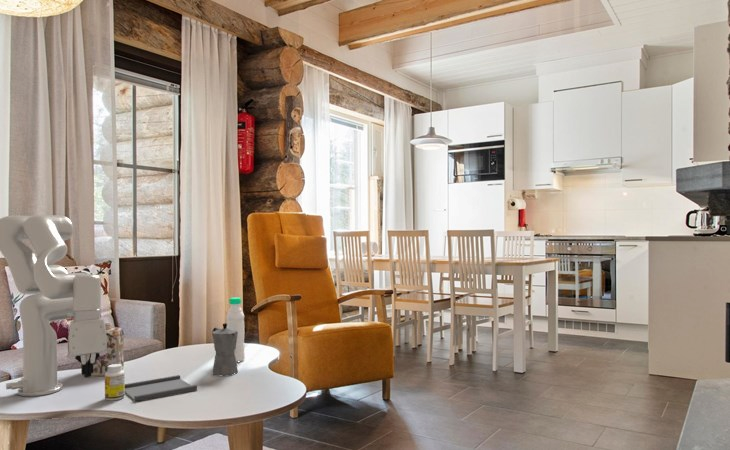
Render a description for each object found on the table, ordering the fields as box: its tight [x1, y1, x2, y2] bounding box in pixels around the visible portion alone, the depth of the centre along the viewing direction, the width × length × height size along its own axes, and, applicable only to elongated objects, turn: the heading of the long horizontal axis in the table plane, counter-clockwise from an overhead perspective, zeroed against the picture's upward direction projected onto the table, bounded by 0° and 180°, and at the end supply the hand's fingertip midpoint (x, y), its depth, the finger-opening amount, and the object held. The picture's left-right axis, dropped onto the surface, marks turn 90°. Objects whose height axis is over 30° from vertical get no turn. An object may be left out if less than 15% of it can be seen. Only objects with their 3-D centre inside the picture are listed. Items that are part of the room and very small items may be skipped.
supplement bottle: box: [104, 364, 126, 401], centre depth 169 cm, size 6×6×10 cm
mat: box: [125, 374, 198, 403], centre depth 178 cm, size 19×17×2 cm
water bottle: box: [225, 297, 246, 363], centre depth 217 cm, size 7×7×25 cm
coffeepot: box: [211, 322, 239, 376], centre depth 200 cm, size 15×9×18 cm, turn 44°
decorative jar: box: [85, 322, 125, 378], centre depth 201 cm, size 12×12×18 cm
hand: (87, 376), depth 165 cm, fingers closed
